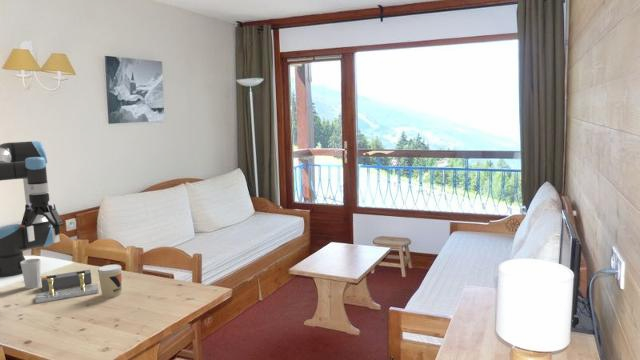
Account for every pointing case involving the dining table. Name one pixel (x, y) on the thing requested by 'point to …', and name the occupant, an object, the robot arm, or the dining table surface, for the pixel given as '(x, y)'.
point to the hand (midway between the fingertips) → (44, 241)
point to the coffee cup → (110, 280)
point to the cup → (31, 273)
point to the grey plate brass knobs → (66, 291)
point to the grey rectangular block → (66, 280)
